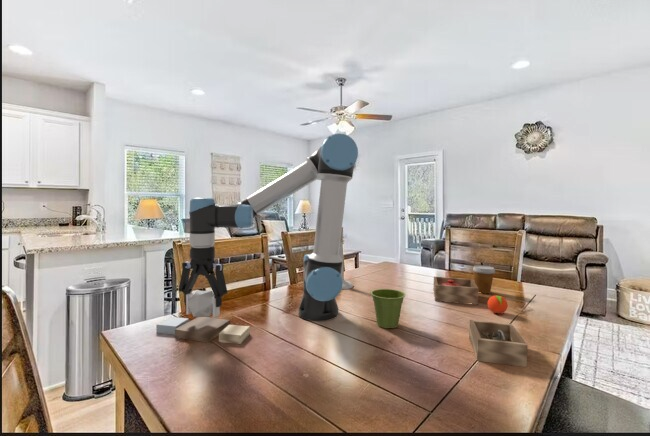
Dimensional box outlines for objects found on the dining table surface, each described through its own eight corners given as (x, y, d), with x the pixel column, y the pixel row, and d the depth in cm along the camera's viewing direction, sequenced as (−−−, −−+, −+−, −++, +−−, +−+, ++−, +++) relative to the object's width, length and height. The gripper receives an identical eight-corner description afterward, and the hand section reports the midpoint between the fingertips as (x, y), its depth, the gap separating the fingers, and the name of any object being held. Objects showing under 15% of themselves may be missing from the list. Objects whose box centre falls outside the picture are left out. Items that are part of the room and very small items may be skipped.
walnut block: (230, 328, 112) (229, 320, 112) (207, 343, 100) (207, 334, 100) (199, 324, 115) (199, 316, 115) (175, 338, 104) (174, 329, 104)
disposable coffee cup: (495, 291, 158) (496, 266, 157) (492, 296, 150) (494, 270, 149) (473, 288, 163) (474, 264, 163) (470, 292, 155) (471, 267, 155)
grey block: (188, 327, 113) (188, 318, 112) (176, 335, 106) (175, 326, 106) (170, 325, 114) (170, 316, 114) (156, 333, 107) (156, 324, 107)
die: (199, 324, 101) (218, 297, 104) (177, 309, 103) (197, 282, 105) (208, 324, 109) (226, 298, 112) (187, 309, 110) (205, 285, 113)
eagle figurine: (473, 343, 99) (493, 352, 90) (484, 320, 100) (505, 327, 91) (495, 357, 99) (517, 367, 90) (506, 334, 101) (529, 342, 91)
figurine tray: (510, 343, 102) (511, 324, 102) (526, 367, 88) (527, 345, 87) (469, 338, 105) (469, 319, 105) (477, 360, 91) (478, 339, 90)
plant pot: (406, 321, 119) (406, 290, 119) (402, 333, 108) (403, 300, 107) (373, 316, 123) (374, 287, 122) (367, 328, 112) (367, 296, 111)
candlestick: (329, 282, 172) (329, 224, 170) (353, 283, 171) (354, 225, 169) (325, 288, 160) (326, 227, 158) (352, 290, 158) (353, 227, 156)
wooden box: (471, 294, 153) (472, 279, 153) (477, 304, 138) (478, 288, 138) (433, 290, 158) (433, 276, 158) (435, 301, 143) (435, 285, 142)
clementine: (510, 318, 123) (511, 299, 123) (490, 316, 125) (491, 298, 124) (503, 311, 131) (504, 293, 131) (484, 309, 133) (485, 292, 132)
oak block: (249, 335, 107) (249, 326, 106) (240, 344, 100) (240, 335, 99) (229, 333, 108) (229, 324, 107) (218, 342, 101) (218, 333, 101)
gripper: (239, 246, 107) (239, 314, 108) (181, 242, 112) (182, 307, 114) (226, 249, 99) (226, 322, 101) (165, 245, 105) (166, 314, 107)
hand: (202, 314), depth 107 cm, fingers closed on die, 9 cm apart
